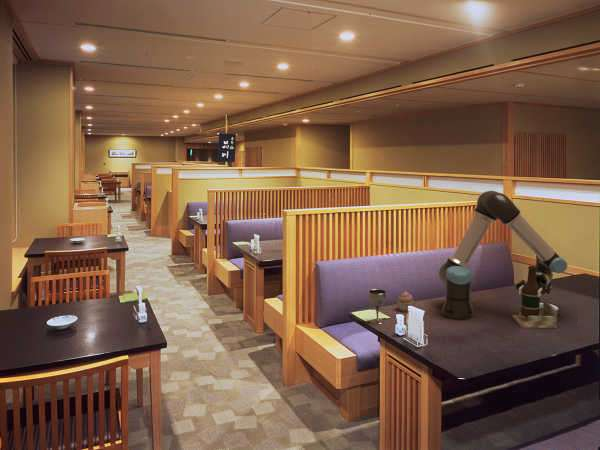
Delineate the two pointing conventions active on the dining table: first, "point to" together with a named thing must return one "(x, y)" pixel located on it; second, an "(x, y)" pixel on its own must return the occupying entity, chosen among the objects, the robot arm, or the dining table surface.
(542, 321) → the wooden display stand
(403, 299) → the cupcake
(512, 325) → the dining table surface
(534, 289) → the beer bottle
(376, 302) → the wine glass
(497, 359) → the dining table surface
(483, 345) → the dining table surface
